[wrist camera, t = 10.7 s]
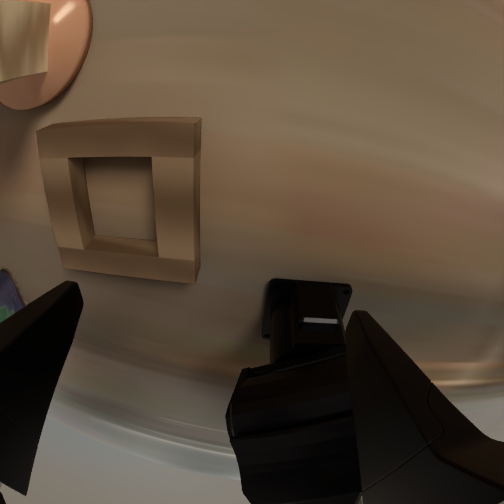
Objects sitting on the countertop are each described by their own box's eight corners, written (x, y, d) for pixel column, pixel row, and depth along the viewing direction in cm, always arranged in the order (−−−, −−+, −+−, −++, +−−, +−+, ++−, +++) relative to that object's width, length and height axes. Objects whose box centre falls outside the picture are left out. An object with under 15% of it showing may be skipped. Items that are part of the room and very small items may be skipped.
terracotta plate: (91, 98, 17) (83, 100, 16) (-6, 115, 17) (-14, 118, 16) (99, -38, 11) (92, -41, 10) (-4, 2, 11) (-12, 2, 10)
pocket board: (200, 267, 24) (195, 284, 22) (74, 253, 24) (63, 267, 22) (201, 117, 18) (194, 123, 16) (52, 123, 17) (36, 131, 16)
